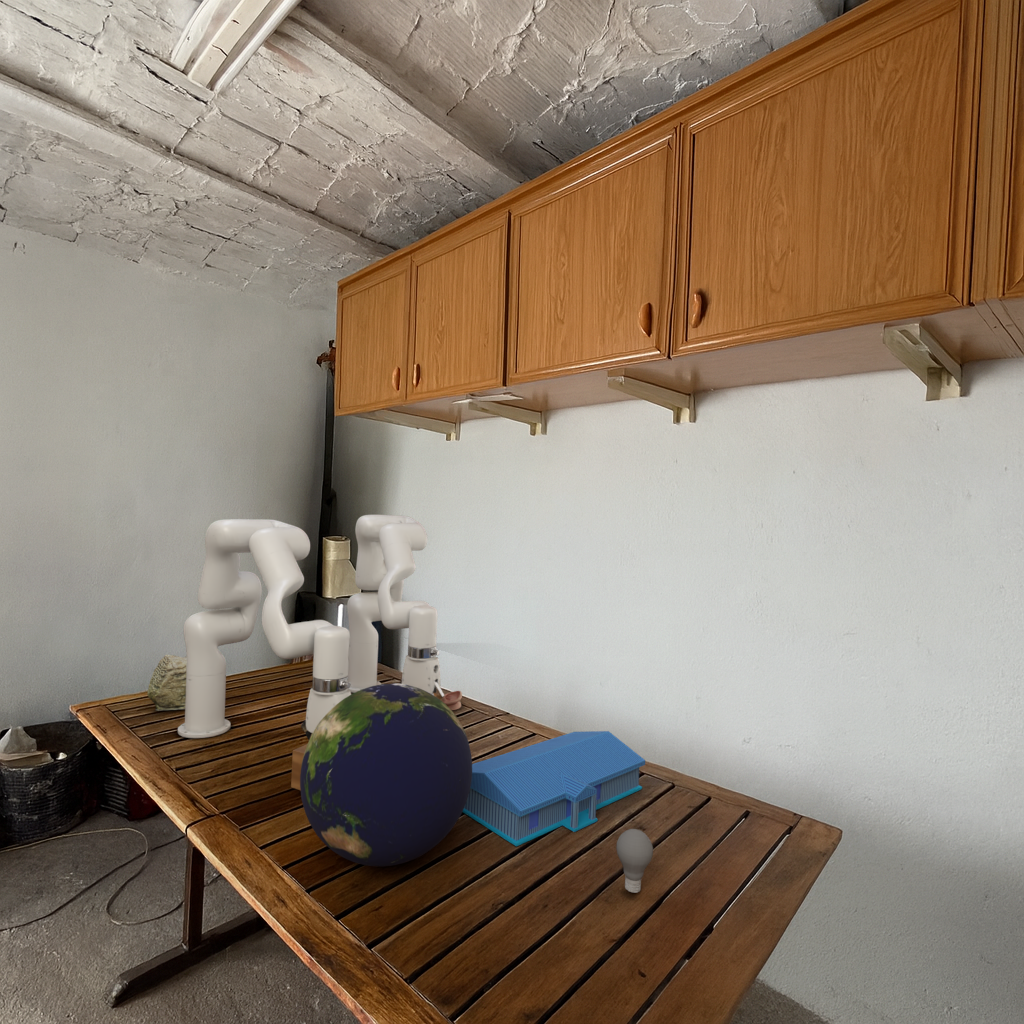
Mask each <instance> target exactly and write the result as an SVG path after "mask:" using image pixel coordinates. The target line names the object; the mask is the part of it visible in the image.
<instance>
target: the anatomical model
mask: <svg viewBox="0 0 1024 1024" xmlns="http://www.w3.org/2000/svg"><path fill="white" fill-rule="evenodd" d="M443 694H444V697H443V703H445V704H446V705H447V706H448V707H449V709H450V710H451V711H456V710H458V709H461V707H462V702H461V700H462V698H463V692H462V691H461V690H454V691H451V692H450V691H449V692H446V693H443Z"/></svg>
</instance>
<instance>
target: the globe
mask: <svg viewBox="0 0 1024 1024" xmlns="http://www.w3.org/2000/svg"><path fill="white" fill-rule="evenodd" d="M461 723H462V722H460V720H459V718H458V717H457V715H456V714H455V713H454V712H453V710H450V709H449V707H448V706H447V705H446V704H445V703H443V702H442V701H441V700H440V699H438V698H437V697H435V696H434V695H432V694H430V693H428V692H426V691H425V690H422V689H420V688H417V687H413V686H409V685H405V684H399V683H381V685H375V686H371V687H368V688H365V689H362V690H360V691H357V692H355V693H351V695H350V696H348V697H346V698H345V699H343V700H342V701H340V702H339V703H338V704H337V705H335V706H334V707H333V708H332V709H331V710H330V711H329V712H328V713H327V714H326V715H325V716H324V717H323V719H322V720H321V721H320V722H319V724H318V725H317V727H316V728H315V730H314V732H313V734H312V736H311V738H310V740H308V743H306V744H307V747H306V750H305V753H304V756H303V760H302V766H301V774H300V790H299V791H300V798H301V802H302V807H303V811H304V813H305V815H306V818H307V820H308V822H309V824H310V827H311V828H312V830H313V831H314V833H315V834H316V836H317V837H318V839H320V841H321V842H322V843H323V844H324V845H325V846H326V847H328V849H330V850H331V851H332V852H334V853H335V854H337V855H338V856H340V857H341V858H343V859H345V860H347V861H348V862H349V861H350V862H353V863H356V864H358V865H363V866H368V867H376V868H377V867H383V868H384V867H392V866H398V865H402V864H405V863H409V862H410V861H413V860H416V859H418V858H420V857H421V856H424V855H425V854H426V853H428V852H430V851H431V850H432V849H433V848H435V847H436V846H437V845H439V844H440V843H441V842H442V841H443V840H444V839H445V838H446V837H447V836H448V834H450V832H451V831H452V830H453V828H454V827H455V825H456V824H457V822H458V820H459V819H460V817H461V815H462V814H463V812H462V811H463V809H464V807H465V804H466V802H467V798H468V795H469V791H470V786H471V780H472V764H473V758H472V757H473V756H472V752H471V746H470V743H469V742H470V741H469V739H468V736H467V732H466V731H465V729H464V727H463V725H462V724H461Z"/></svg>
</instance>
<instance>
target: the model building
mask: <svg viewBox="0 0 1024 1024" xmlns="http://www.w3.org/2000/svg"><path fill="white" fill-rule="evenodd" d="M645 765H646V759H644V758H643V757H642V756H640V755H639V754H638V753H637V752H636V751H634V750H633V749H632V748H631V747H629V746H628V745H627V744H625V742H623V741H622V740H620V739H619V738H618V737H617V736H616V735H614V734H613V733H612V732H610V731H609V730H595V731H593V730H592V731H591V730H590V731H572V732H569V733H566V734H563V735H560V736H559V735H558V736H556V737H553V738H551V739H547V740H543V741H541V742H537V743H535V744H530V745H528V746H525V747H522V748H519V749H515V750H513V751H509V752H506V753H503V754H500V755H496V756H493V757H490V758H487V759H483V760H481V761H477V762H474V763H472V780H471V786H470V791H469V795H468V798H467V802H466V804H465V807H464V809H463V811H462V814H465V815H467V816H468V817H470V818H471V819H473V820H474V821H476V822H478V823H479V824H481V825H482V826H484V827H485V828H486V829H488V830H490V831H491V832H493V833H494V834H496V835H498V836H499V837H501V838H502V839H503V840H505V841H507V842H509V843H510V844H512V845H514V846H515V847H518V846H519V847H520V845H523V844H525V843H527V842H530V841H532V840H535V839H536V838H538V837H540V836H543V835H545V834H547V833H549V832H551V831H553V830H556V829H558V828H560V827H565V828H566V829H568V830H569V831H572V832H573V833H576V832H578V831H579V830H583V829H584V828H586V827H588V826H591V825H593V824H595V823H597V822H598V821H599V818H597V816H596V814H597V810H599V809H601V808H604V807H606V806H608V805H610V804H612V803H615V802H617V801H619V800H621V799H624V798H626V797H628V796H630V795H632V794H634V793H636V792H638V791H639V792H640V791H641V790H643V786H642V785H640V768H641V767H644V766H645Z"/></svg>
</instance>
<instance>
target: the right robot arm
mask: <svg viewBox="0 0 1024 1024" xmlns="http://www.w3.org/2000/svg"><path fill="white" fill-rule="evenodd" d="M355 538H356V542H357V555H356V565H355V566H356V567H355V576H354V578H355V579H354V581H355V586H356V588H357V589H359V590H362V591H366V592H358V593H354V594H352V595H351V596H350V597H349V598H348V600H347V604H346V610H347V618H348V631H349V633H350V645H349V667H348V682H350V683H351V686H350V688H348V690H350V691H351V694H353V693H355V692H357V691H360V690H362V689H365V688H368V687H371V686H375V685H381V684H382V683H381V682H380V681H379V680H378V661H379V660H378V659H379V658H378V657H379V633H378V631H377V628H375V626H374V625H373V624H372V623H373V622H380V621H381V623H382V624H383V626H384V627H385V628H386V629H388V630H401V629H408V639H407V642H408V643H407V654H406V655H405V658H404V662H403V666H402V672H401V673H402V674H401V680H400V682H399V683H398V684H405V685H409V686H413V687H417V688H420V689H422V690H425V691H426V692H428V693H430V694H432V695H434V694H433V693H436V694H437V696H436V697H437V698H438V699H442V698H443V697H444V694H445V693H444V691H443V690H442V688H441V680H442V679H441V666H440V660H439V657H438V656H439V655H440V650H438V649H437V635H438V634H437V633H438V610H437V608H436V607H435V606H431V605H430V604H429V603H428V602H427V601H425V600H402V599H403V592H404V585H405V579H408V578H409V577H411V576H412V575H413V574H414V573H415V571H416V569H417V566H416V562H415V558H414V555H413V552H419V551H423V550H425V549H426V547H427V545H428V534H427V530H426V529H425V527H424V526H423V524H422V523H420V522H419V521H417V520H416V519H414V518H413V517H410V516H408V515H400V514H399V515H398V514H365V515H364V514H363V515H362V516H360V517H358V519H357V520H356V523H355ZM368 591H369V592H368ZM371 591H372V592H371Z"/></svg>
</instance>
